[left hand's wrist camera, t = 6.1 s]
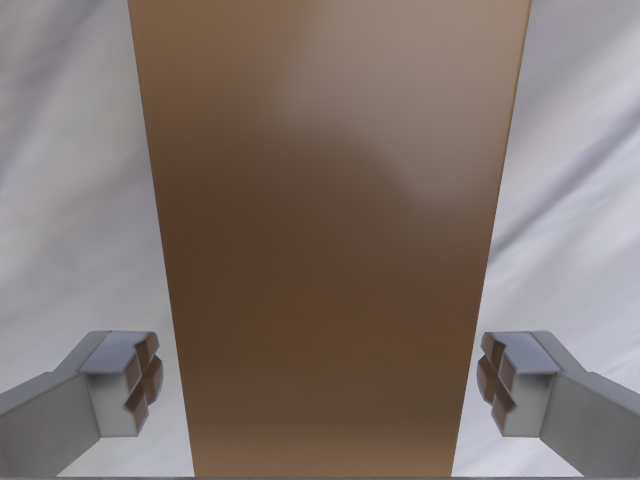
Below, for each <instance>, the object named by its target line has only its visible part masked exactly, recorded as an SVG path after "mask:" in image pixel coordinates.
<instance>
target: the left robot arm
mask: <svg viewBox="0 0 640 480" xmlns="http://www.w3.org/2000/svg"><path fill="white" fill-rule="evenodd" d="M158 348H159V342H158V337H157V335H156V334H155V333H154V332H149V331H92V332H89V333H88V334H87V335H86V336H85V337H84V338H83V339H82V341H81V342H80V343H79V344H78V345H77V346H76V347H75V348H74V349H73V350H72V351H71V353H70V354H69V355H68V356H67V357H66V358H65V359H64V360H63V361H62V362H61V363H60V365H59V366H58V367H57V368H56V369H55V370H54V371H53V372H45V373H43V374H41V375H39V376H37V377H35V378H33V379H31V380H29V381H27V382H25V383H22V384H20V385H18V386H16V387H14V388H12V389H10V390H8V391H6V392H4V393H2V394H0V480H640V394H638V393H636V392H634V391H632V390H630V389H628V388H626V387H624V386H622V385H620V384H617V383H615V382H613V381H611V380H609V379H607V378H605V377H603V376H601V375H599V374H597V373H595V372H587V371H586V370H585V369H584V368H583V367H582V366H581V365H580V363H579V362H578V361H577V360H576V359H575V358H574V357H573V356H572V355H571V354H570V353H569V351H568V350H567V349H566V348H565V347H564V346H563V345H562V344H561V343H560V342H559V341H558V339H557V338H556V337H555V336H554V335H553V334H552V333H551V332H549V331H546V330H543V331H521V332H485V333H484V335H483V337H482V342H481V348H482V350H483V351H484V353H485V355H484V356H483V357H482V358H481V359H480V360H479V361H478V366H477V383H478V387H479V391H480V393H481V395H482V397H483V400H484V401H486V402H487V403H489V404H490V405H491V406H492V411H491V415H492V417H493V419H494V421H495V423H496V425H497V427H498V429H499V431H500V433H501V435H502V437H533V438H540V440H541V441H543V442H544V443H545V444H546V445H547V446H549V447H550V448H551V449H552V450H553V451H555V452H556V453H557V454H558V455H559V456H561V457H562V458H563V459H564V460H566V461H567V462H568V463H569V464H570V465H572V466H573V467H574V468H575V469H576V470H578V471H579V472H580V473H581V474H582V475H584V476H585V477H55V476H56V475H58V474H59V473H60V472H61V471H63V470H64V469H65V468H66V467H67V466H69V465H70V464H71V463H72V462H73V461H75V460H76V459H77V458H78V457H79V456H81V455H82V454H83V453H84V452H86V451H87V450H88V449H89V448H90V447H92V446H93V445H94V444H95V443H96V442H98V441H99V440H100V438H106V437H138V435H139V433H140V431H141V429H142V427H143V425H144V423H145V421H146V419H147V417H148V415H149V411H148V406H149V405H150V404H151V403H153V402H154V401H156V400H157V397H158V395H159V393H160V391H161V387H162V382H163V365H162V361H161V360H160V359H159V358H158V357H157V356H156V355H155V353H156V351H157V350H158Z"/></svg>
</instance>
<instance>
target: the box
mask: <svg viewBox="0 0 640 480" xmlns="http://www.w3.org/2000/svg"><path fill="white" fill-rule="evenodd" d="M531 2H532V0H128V7H129V14H130V21H131V28H132V35H133V42H134V49H135V56H136V63H137V70H138V77H139V85H140V92H141V99H142V106H143V113H144V120H145V127H146V134H147V141H148V148H149V155H150V162H151V169H152V177H153V184H154V191H155V198H156V205H157V212H158V219H159V226H160V233H161V240H162V247H163V254H164V262H165V269H166V276H167V283H168V290H169V297H170V304H171V311H172V318H173V325H174V332H175V339H176V347H177V354H178V361H179V368H180V375H181V382H182V389H183V396H184V403H185V410H186V417H187V424H188V432H189V439H190V446H191V453H192V460H193V467H194V474H195V477H451V473H452V467H453V461H454V455H455V449H456V443H457V437H458V432H459V426H460V420H461V414H462V408H463V402H464V396H465V390H466V385H467V379H468V373H469V367H470V361H471V355H472V349H473V343H474V337H475V332H476V326H477V320H478V314H479V308H480V302H481V296H482V290H483V285H484V279H485V273H486V267H487V261H488V255H489V249H490V243H491V237H492V232H493V226H494V220H495V214H496V208H497V202H498V196H499V190H500V184H501V179H502V173H503V167H504V161H505V155H506V149H507V143H508V137H509V132H510V126H511V120H512V114H513V108H514V102H515V96H516V90H517V84H518V79H519V73H520V67H521V61H522V55H523V49H524V43H525V37H526V32H527V26H528V20H529V14H530V8H531Z"/></svg>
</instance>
